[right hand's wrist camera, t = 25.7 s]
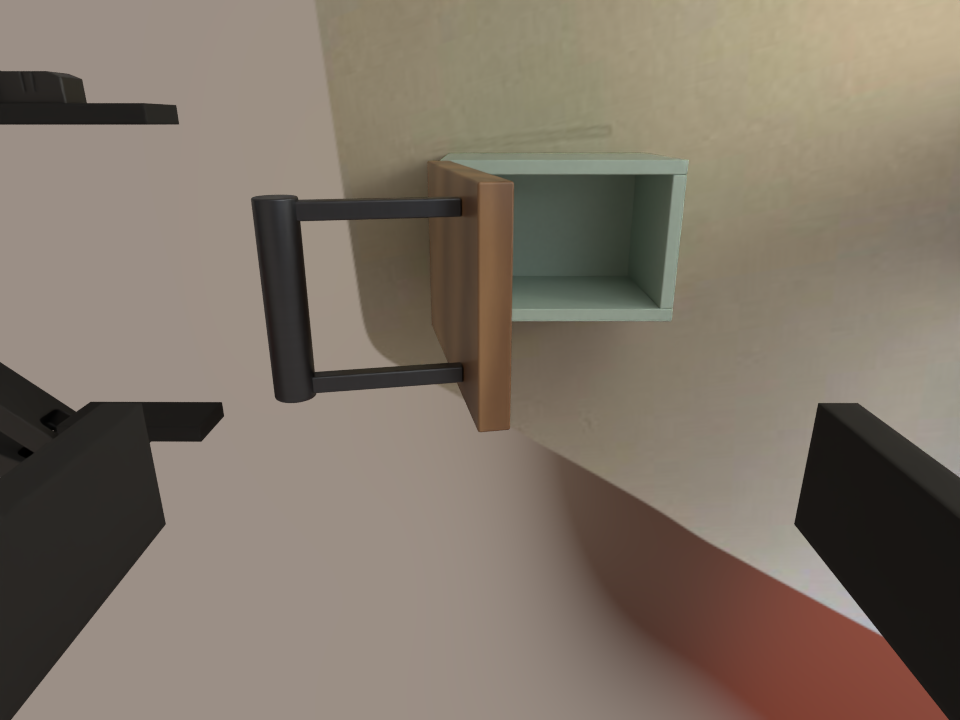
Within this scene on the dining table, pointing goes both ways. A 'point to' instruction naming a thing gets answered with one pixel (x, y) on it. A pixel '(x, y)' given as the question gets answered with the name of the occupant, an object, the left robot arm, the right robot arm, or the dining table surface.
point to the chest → (591, 233)
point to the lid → (454, 289)
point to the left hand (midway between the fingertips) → (190, 280)
